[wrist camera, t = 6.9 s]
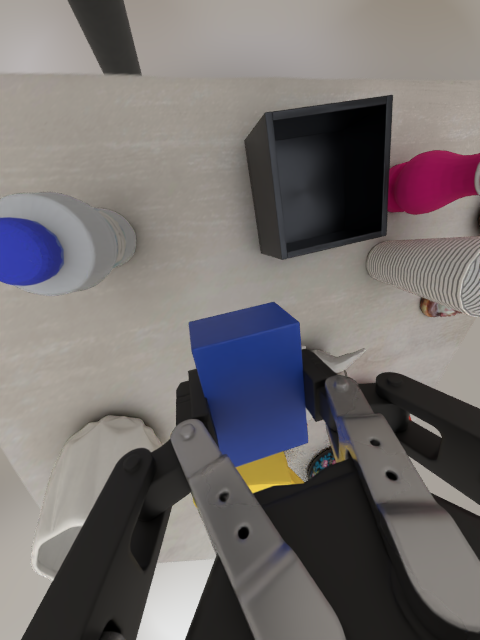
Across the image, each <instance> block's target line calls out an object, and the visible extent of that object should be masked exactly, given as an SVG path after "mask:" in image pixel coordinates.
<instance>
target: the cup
mask: <svg viewBox="0 0 480 640" xmlns="http://www.w3.org/2000/svg"><path fill="white" fill-rule="evenodd" d="M366 269H367V271H368V273H369V275H370V276H371V277H373V278H374V279H376V280H379V281H382V282H384V283H387V284H389V285H392V286H394V287H397V288H400V289H402V290H405V291H407V292H410V293H412V294H415V295H418V296H420V297H423V298H425V299H428V300H430V301H433V302H436V303H438V304H441V305H443V306H446V307H448V308H451V309H454V310H456V311H459V312H461V313H464V314H466V315H469V316H475V317H480V236H477V237H456V238H436V239H415V240H395V241H385V242H381V243H379V244H378V245H376V246H375V247H373V249H372V250H371V252H370V253H369V255H368V258H367V261H366Z"/></svg>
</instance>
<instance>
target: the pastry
mask: <svg viewBox="0 0 480 640" xmlns="http://www.w3.org/2000/svg"><path fill="white" fill-rule="evenodd" d="M420 307H421V310H422V312H423V313H424V314H425V315H426V316H429V317H437V316H440V317H442V316H451V315H456V314H458V313H461V312H459V311H456V310H454V309H451V308H448V307H446V306H443V305H441V304H438V303H436V302H433V301H430V300H428V299H425V298H423V297H422V300H421V305H420Z"/></svg>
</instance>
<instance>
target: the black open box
mask: <svg viewBox="0 0 480 640" xmlns="http://www.w3.org/2000/svg"><path fill="white" fill-rule="evenodd" d="M392 103H393V95H387V96H381V97H374V98H367V99H359V100H352V101H345V102H338V103H331V104H324V105H317V106H310V107H302V108H295V109H288V110H281V111H274V112H266V113H264V115H263V116H262V118H261V119H260V120H259V122H258V123H257V124H256V126H255V127H254V128H253V130H252V131H251V132H250V134H249V135H248V136H247V138H246V139H245V148H246V155H247V162H248V168H249V175H250V182H251V189H252V196H253V202H254V209H255V216H256V223H257V229H258V236H259V243H260V250H261V253H262V254H265V255H268V256H272V257H275V258H278V259H281V260H283V259H287V258H292V257H296V256H300V255H305V254H309V253H313V252H318V251H322V250H326V249H330V248H335V247H339V246H343V245H348V244H352V243H356V242H360V241H365V240H369V239H373V238H378V237H382V236H386V232H387V211H388V189H389V168H390V146H391V125H392Z"/></svg>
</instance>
